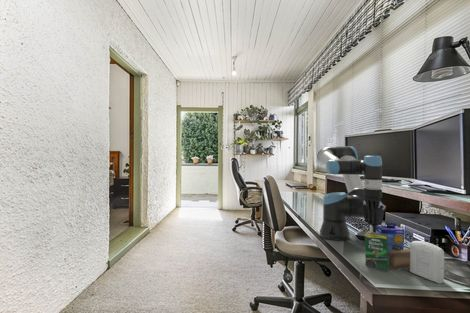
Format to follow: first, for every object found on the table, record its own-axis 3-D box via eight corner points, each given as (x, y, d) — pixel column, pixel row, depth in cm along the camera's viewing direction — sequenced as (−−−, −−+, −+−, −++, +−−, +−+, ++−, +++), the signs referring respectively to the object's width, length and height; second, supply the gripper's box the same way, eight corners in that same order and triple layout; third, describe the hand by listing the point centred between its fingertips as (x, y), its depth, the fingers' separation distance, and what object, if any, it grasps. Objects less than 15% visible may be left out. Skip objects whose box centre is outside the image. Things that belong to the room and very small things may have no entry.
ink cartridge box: (381, 257, 110) (381, 223, 110) (374, 252, 115) (374, 220, 115) (405, 257, 109) (405, 223, 109) (397, 253, 115) (397, 220, 115)
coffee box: (364, 265, 102) (364, 232, 102) (366, 263, 104) (366, 230, 104) (387, 271, 97) (387, 236, 97) (389, 268, 99) (389, 234, 99)
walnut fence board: (389, 267, 100) (389, 251, 100) (426, 260, 106) (426, 246, 106) (394, 269, 98) (394, 254, 98) (432, 263, 104) (432, 248, 104)
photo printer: (446, 282, 88) (446, 246, 88) (439, 284, 86) (439, 248, 86) (415, 270, 98) (415, 237, 98) (407, 272, 96) (407, 239, 96)
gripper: (355, 187, 126) (356, 235, 126) (378, 190, 113) (378, 244, 113) (368, 186, 128) (368, 234, 128) (391, 189, 116) (391, 242, 115)
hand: (373, 238), depth 120 cm, fingers closed
